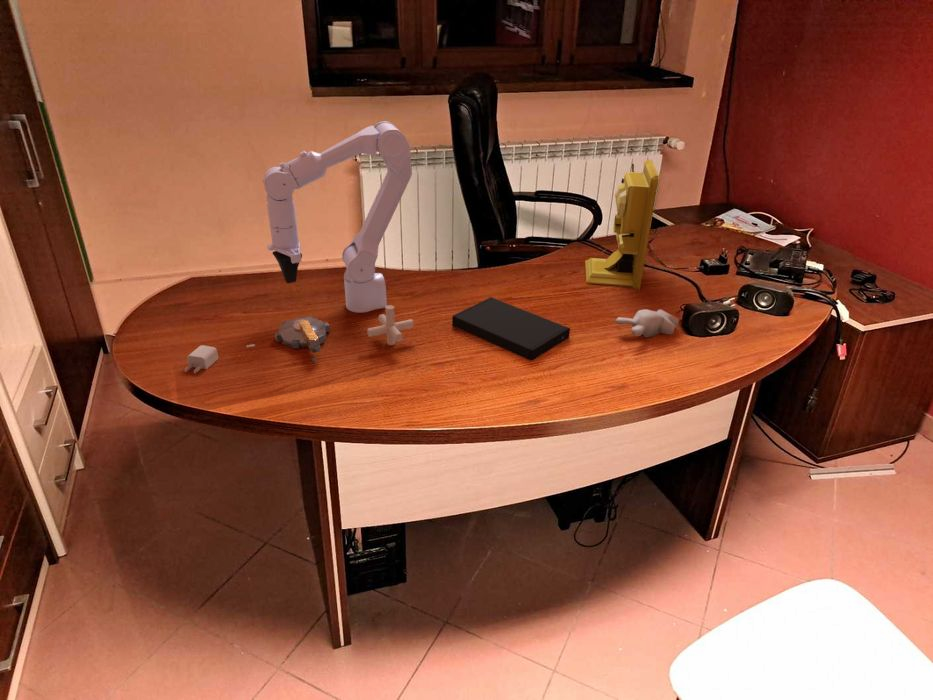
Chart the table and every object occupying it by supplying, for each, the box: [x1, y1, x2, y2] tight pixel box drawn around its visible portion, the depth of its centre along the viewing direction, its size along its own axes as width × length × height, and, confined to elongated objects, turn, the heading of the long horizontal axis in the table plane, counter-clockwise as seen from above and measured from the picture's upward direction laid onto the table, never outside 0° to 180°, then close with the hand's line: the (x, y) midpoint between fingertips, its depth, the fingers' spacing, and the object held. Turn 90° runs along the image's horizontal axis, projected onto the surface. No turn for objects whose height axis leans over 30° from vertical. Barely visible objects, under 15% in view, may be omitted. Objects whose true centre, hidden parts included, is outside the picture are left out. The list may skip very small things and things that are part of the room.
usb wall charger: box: [184, 344, 220, 375], centre depth 131 cm, size 4×7×4 cm, turn 167°
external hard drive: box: [451, 296, 571, 362], centre depth 149 cm, size 14×23×3 cm, turn 48°
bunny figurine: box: [614, 308, 680, 338], centre depth 149 cm, size 10×5×15 cm
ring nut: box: [274, 316, 331, 354], centre depth 139 cm, size 17×12×4 cm
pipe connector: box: [366, 304, 415, 346], centre depth 139 cm, size 10×10×10 cm
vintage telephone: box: [584, 158, 659, 291], centre depth 173 cm, size 31×14×30 cm, turn 172°
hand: (290, 281), depth 148 cm, fingers closed
